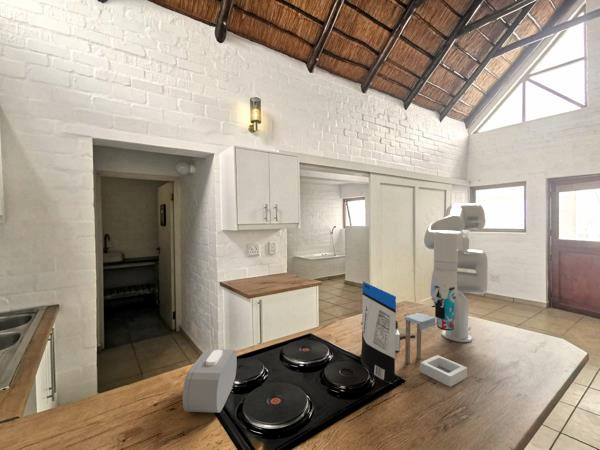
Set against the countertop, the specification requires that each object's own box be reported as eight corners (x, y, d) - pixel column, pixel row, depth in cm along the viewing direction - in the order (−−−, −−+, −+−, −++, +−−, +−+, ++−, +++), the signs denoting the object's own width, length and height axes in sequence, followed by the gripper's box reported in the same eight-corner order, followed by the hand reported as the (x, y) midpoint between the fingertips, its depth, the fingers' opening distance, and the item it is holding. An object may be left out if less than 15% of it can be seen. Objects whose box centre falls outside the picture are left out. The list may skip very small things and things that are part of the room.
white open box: (419, 356, 114) (420, 312, 114) (467, 377, 98) (467, 326, 98) (402, 363, 108) (403, 316, 108) (450, 387, 92) (451, 333, 92)
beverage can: (451, 332, 96) (450, 289, 96) (433, 327, 101) (433, 286, 100) (457, 327, 100) (457, 286, 100) (440, 323, 105) (439, 283, 104)
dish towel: (389, 321, 155) (389, 317, 155) (416, 338, 133) (416, 333, 133) (361, 324, 151) (361, 319, 151) (384, 341, 128) (384, 336, 128)
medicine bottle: (399, 351, 118) (400, 323, 118) (382, 349, 119) (382, 321, 119) (397, 344, 125) (397, 317, 125) (380, 342, 126) (381, 316, 126)
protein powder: (381, 388, 91) (383, 297, 91) (351, 354, 115) (352, 281, 115) (407, 385, 93) (408, 295, 93) (372, 352, 117) (373, 281, 117)
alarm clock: (208, 379, 95) (209, 340, 95) (236, 380, 95) (236, 341, 95) (181, 423, 74) (181, 373, 74) (216, 424, 74) (216, 374, 74)
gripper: (447, 263, 108) (447, 309, 108) (421, 266, 98) (420, 317, 98) (468, 265, 101) (467, 315, 101) (442, 269, 92) (441, 324, 92)
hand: (444, 315), depth 100 cm, fingers closed on beverage can, 5 cm apart
